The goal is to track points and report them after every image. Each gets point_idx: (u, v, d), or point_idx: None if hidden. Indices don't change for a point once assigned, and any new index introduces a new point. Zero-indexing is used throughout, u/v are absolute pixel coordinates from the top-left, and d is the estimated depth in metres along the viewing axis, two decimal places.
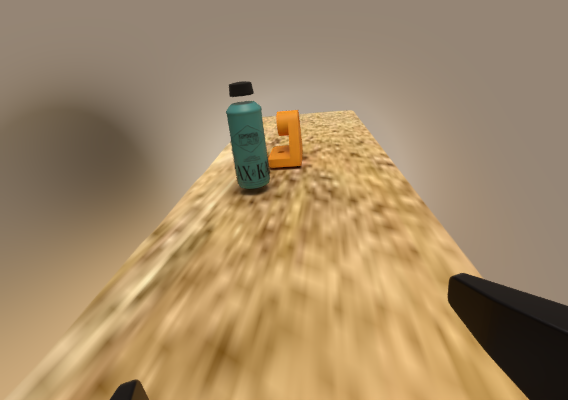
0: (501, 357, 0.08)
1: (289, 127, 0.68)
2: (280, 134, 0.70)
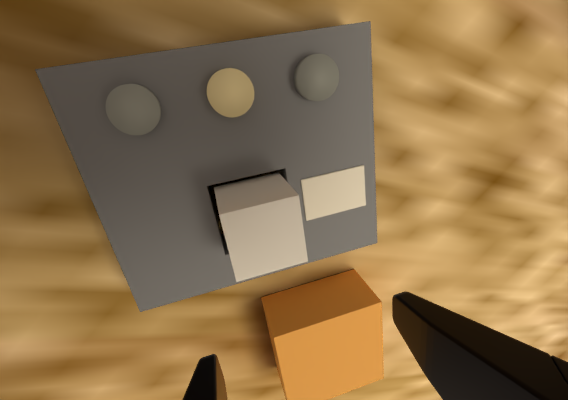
0: (438, 382, 0.08)
1: None
2: None
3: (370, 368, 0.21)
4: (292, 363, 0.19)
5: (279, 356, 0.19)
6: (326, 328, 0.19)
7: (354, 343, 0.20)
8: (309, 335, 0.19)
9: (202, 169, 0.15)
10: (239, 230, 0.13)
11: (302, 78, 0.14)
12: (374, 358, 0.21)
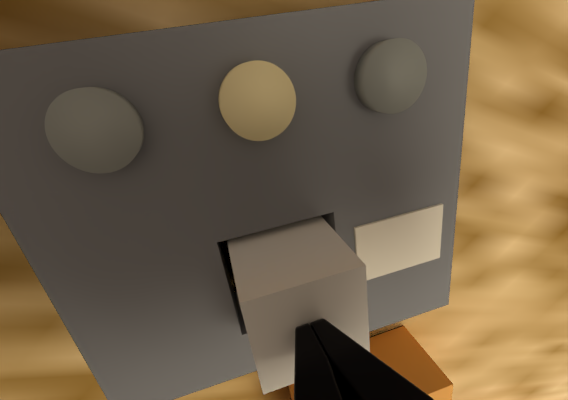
0: None
1: None
2: None
3: None
4: None
5: None
6: None
7: None
8: None
9: (210, 218, 0.10)
10: (270, 323, 0.08)
11: (371, 78, 0.09)
12: None
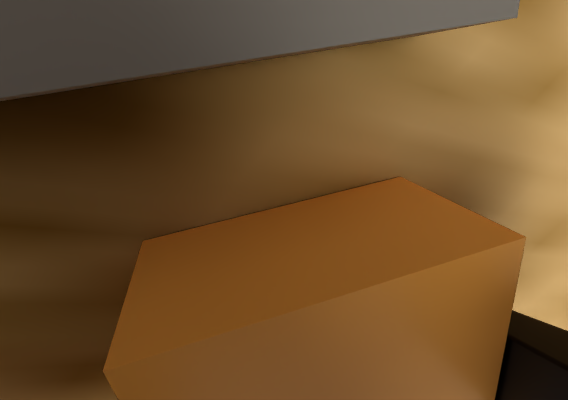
0: None
1: None
2: None
3: None
4: None
5: None
6: (331, 331, 0.05)
7: (420, 380, 0.06)
8: (265, 357, 0.05)
9: None
10: None
11: None
12: None
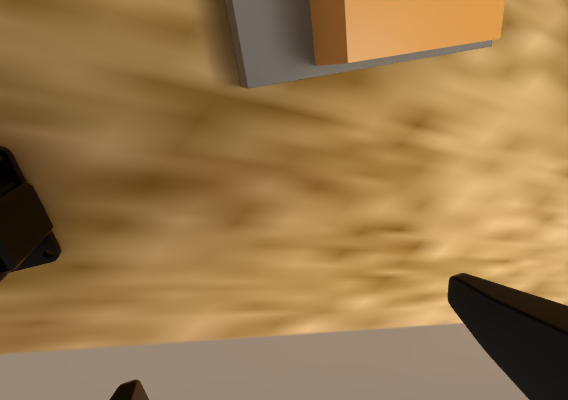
0: (501, 357, 0.08)
1: None
2: None
3: (484, 0, 0.12)
4: None
5: None
6: None
7: None
8: None
9: None
10: None
11: None
12: None
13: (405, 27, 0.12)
